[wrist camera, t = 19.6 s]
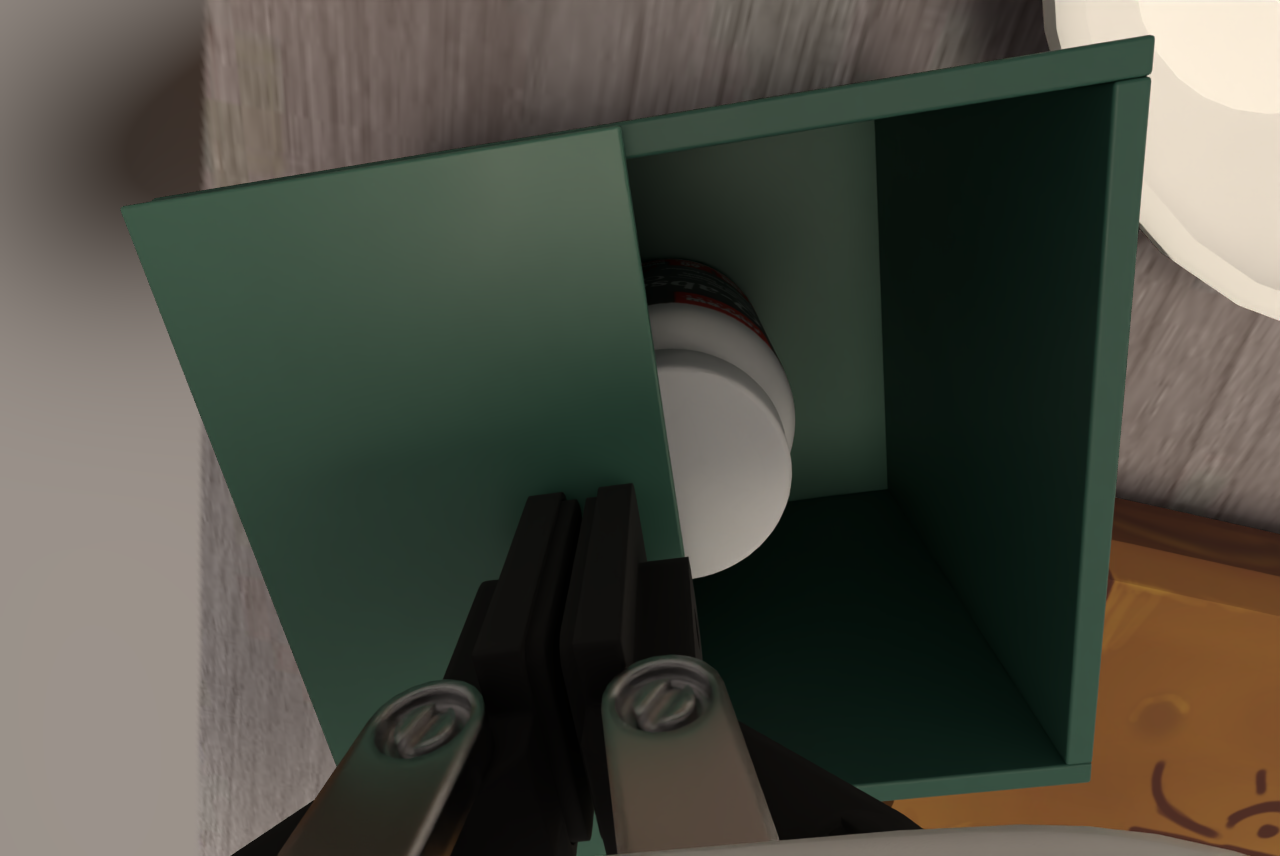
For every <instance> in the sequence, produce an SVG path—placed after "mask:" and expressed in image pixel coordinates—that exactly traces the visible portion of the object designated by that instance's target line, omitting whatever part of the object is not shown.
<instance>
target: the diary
mask: <svg viewBox="0 0 1280 856" xmlns="http://www.w3.org/2000/svg"><path fill="white" fill-rule="evenodd" d="M1091 764H1092V768H1091V779H1090V782H1087V783H1076V784H1065V785H1054V786H1044V787H1033V788H1022V789H1011V790H1000V791H989V792H979V793H968V794H957V795H946V796H935V797H925V798H914V799H903V800H892V801H881V802H883V803H885V804H886V805H888V806H890V807H892V808H893V809H895V810H897V811H899V812H900V813H902V814H904V815H905V816H907V817H908V818H909V819H911V820H912V821H913V822H915V823H916V824H917V825H919V826H920V827H921V828H923V829H940V828H961V827H980V826H999V825H1019V824H1022V825H1062V826H1090V827H1099V828H1107V829H1116V830H1125V831H1133V832H1142V833H1151V834H1159V835H1163V836H1168V837H1172V838H1177V839H1181V840H1186V841H1191V842H1195V843H1200V844H1204V845H1209V846H1213V847H1218V848H1222V849H1227V850H1231V851H1236V852H1239V853H1242V854H1245V855H1249V856H1280V534H1277V533H1273V532H1268V531H1264V530H1259V529H1255V528H1250V527H1246V526H1241V525H1237V524H1232V523H1228V522H1223V521H1219V520H1214V519H1210V518H1206V517H1201V516H1197V515H1192V514H1188V513H1183V512H1179V511H1174V510H1170V509H1165V508H1161V507H1156V506H1152V505H1147V504H1143V503H1138V502H1134V501H1129V500H1125V499H1120V498H1116V497H1115V504H1114V516H1113V527H1112V539H1111V550H1110V562H1109V573H1108V584H1107V596H1106V607H1105V619H1104V630H1103V642H1102V653H1101V665H1100V676H1099V688H1098V699H1097V711H1096V722H1095V734H1094V745H1093V757H1092V762H1091Z"/></svg>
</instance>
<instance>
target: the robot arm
mask: <svg viewBox="0 0 1280 856" xmlns="http://www.w3.org/2000/svg"><path fill="white" fill-rule="evenodd" d="M594 811H595V815H596V820H597V824H598V828H599V833H600V836H601V838H602V840H603V843H604V847H605V851H606V855H604V856H1249V855H1245V854H1242V853H1239V852H1236V851H1231V850H1227V849H1222V848H1218V847H1213V846H1209V845H1204V844H1200V843H1195V842H1191V841H1186V840H1181V839H1177V838H1172V837H1168V836H1163V835H1159V834H1151V833H1142V832H1133V831H1125V830H1116V829H1107V828H1099V827H1090V826H1062V825H1022V824H1019V825H999V826H980V827H961V828H940V829H923V828H921V827H920V826H919V825H917V824H916V823H915V822H913V821H912V820H911V819H909V818H908V817H907V816H905V815H904V814H902V813H900V812H899V811H897V810H895V809H893V808H892V807H890V806H888V805H886V804H885V803H883V802H881V801H879V800H878V799H876V798H874V797H872V796H870V795H869V794H867V793H865V792H863V791H862V790H860V789H858V788H856V787H855V786H853V785H851V784H849V783H848V782H846V781H844V780H842V779H841V778H839V777H837V776H835V775H834V774H832V773H830V772H828V771H826V770H825V769H823V768H821V767H819V766H818V765H816V764H814V763H812V762H811V761H809V760H807V759H805V758H804V757H802V756H800V755H798V754H797V753H795V752H793V751H791V750H789V749H788V748H786V747H784V746H782V745H781V744H779V743H777V742H775V741H774V740H772V739H770V738H768V737H767V736H765V735H763V734H761V733H760V732H758V731H756V730H754V729H753V728H751V727H749V726H747V725H745V724H744V723H742V722H740V721H738V720H737V717H736V714H735V712H734V709H733V706H732V703H731V700H730V697H729V695H728V692H727V689H726V686H725V683H724V681H723V680H722V678H721V676H720V675H719V673H718V672H717V670H715V669H714V668H713V667H711V666H710V665H709V664H707V663H706V662H704V661H703V659H702V648H701V639H700V631H699V622H698V615H697V607H696V600H695V593H694V587H693V580H692V573H691V567H690V561H689V557H680V558H672V559H664V560H655V561H647V557H646V552H645V546H644V540H643V534H642V528H641V522H640V516H639V510H638V505H637V499H636V493H635V489H634V485H633V483H628V484H620V485H612V486H605V487H599V488H598V492H597V497H589V498H586V502H585V507H584V512H583V517H582V514H581V509H580V505H579V502H578V500H577V499H573V500H567V499H566V496H565V494H564V493H563V492H558V493H550V494H542V495H534V496H529V497H528V498H527V501H526V504H525V507H524V509H523V512H522V515H521V518H520V521H519V523H518V526H517V529H516V532H515V535H514V537H513V540H512V543H511V546H510V549H509V552H508V554H507V557H506V560H505V563H504V566H503V568H502V571H501V574H500V577H499V579H497V580H489V581H484V582H482V583H481V585H480V586H479V588H478V591H477V593H476V596H475V598H474V601H473V604H472V606H471V609H470V611H469V614H468V616H467V619H466V621H465V624H464V626H463V629H462V632H461V634H460V637H459V639H458V642H457V644H456V647H455V649H454V652H453V654H452V657H451V659H450V662H449V665H448V667H447V670H446V672H445V675H444V677H443V680H435V681H429V682H426V683H423V684H420V685H416V686H413V687H411V688H409V689H407V690H405V691H403V692H401V693H399V694H397V695H395V696H394V697H393V698H391V699H390V700H389V701H387V702H386V703H385V704H383V705H382V706H381V707H380V708H379V709H378V710H377V711H376V712H375V713H374V715H373V716H372V717H371V718H370V719H369V720H368V722H367V723H366V725H365V726H364V728H363V729H362V730H361V732H360V733H359V735H358V736H357V738H356V739H355V741H354V742H353V744H352V745H351V747H350V748H349V750H348V751H347V753H346V754H345V756H344V757H343V759H342V760H341V761H340V763H339V764H338V766H337V767H336V769H335V770H334V772H333V773H332V775H331V776H330V778H329V779H328V781H327V782H326V784H325V785H324V787H323V788H322V790H321V791H320V793H319V794H318V795H317V797H316V798H315V800H314V801H312V802H311V803H309V804H308V805H306V806H305V807H303V808H302V809H300V810H299V811H297V812H296V813H294V814H293V815H291V816H290V817H288V818H287V819H285V820H284V821H282V822H281V823H279V824H278V825H276V826H275V827H273V828H272V829H270V830H269V831H267V832H266V833H264V834H263V835H261V836H260V837H258V838H257V839H255V840H254V841H252V842H251V843H249V844H248V845H246V846H245V847H243V848H242V849H240V850H239V851H237V852H236V853H234V854H233V855H231V856H576V855H577V846H578V842H583V841H590V840H591V837H592V829H593V818H594Z"/></svg>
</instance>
